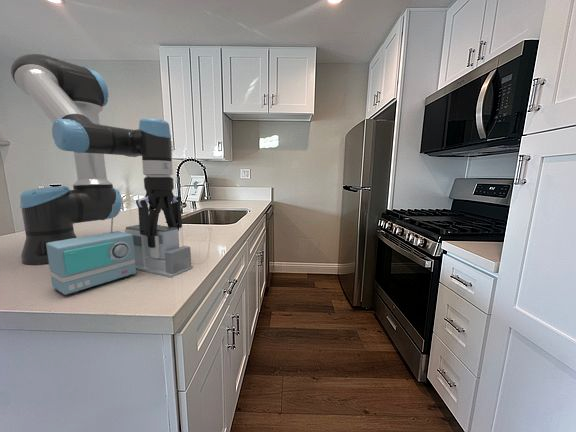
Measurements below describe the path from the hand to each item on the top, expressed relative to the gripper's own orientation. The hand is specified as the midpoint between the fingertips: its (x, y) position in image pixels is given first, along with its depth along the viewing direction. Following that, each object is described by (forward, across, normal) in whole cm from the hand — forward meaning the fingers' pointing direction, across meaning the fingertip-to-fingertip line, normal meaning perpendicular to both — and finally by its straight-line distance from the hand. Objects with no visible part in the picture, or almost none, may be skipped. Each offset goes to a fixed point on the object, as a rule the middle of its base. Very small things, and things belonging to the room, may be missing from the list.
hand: (164, 254), depth 76 cm
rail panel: (+4, 0, +2) cm, 5 cm away
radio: (+4, -15, +7) cm, 17 cm away
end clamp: (+4, 0, -6) cm, 7 cm away
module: (0, 0, 0) cm, 0 cm away
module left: (+4, 0, +8) cm, 9 cm away
